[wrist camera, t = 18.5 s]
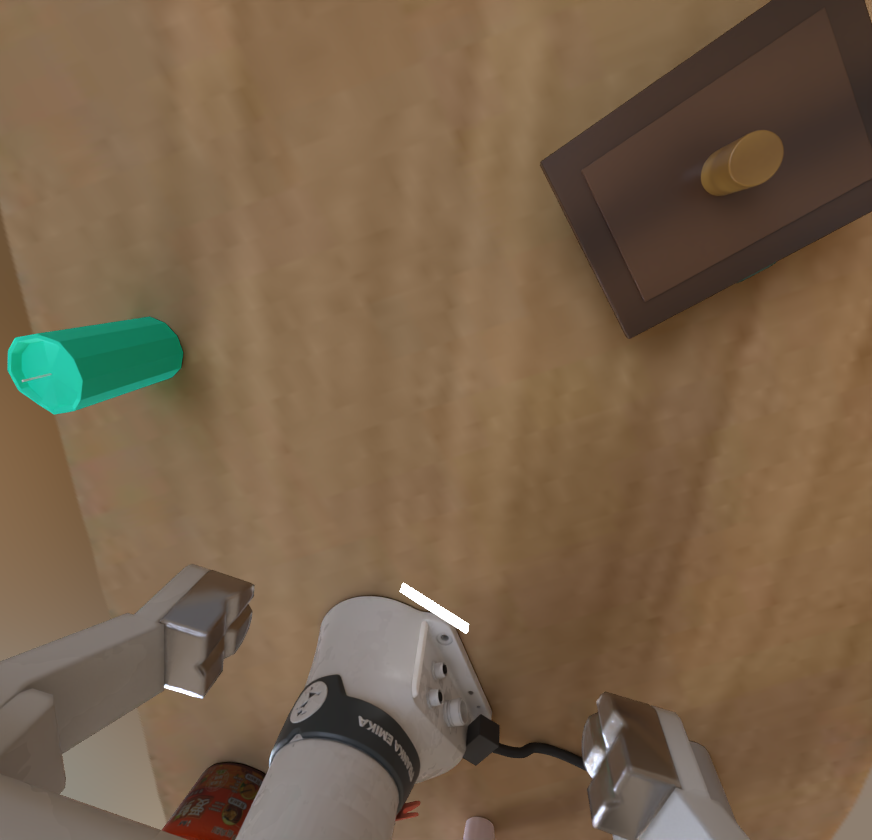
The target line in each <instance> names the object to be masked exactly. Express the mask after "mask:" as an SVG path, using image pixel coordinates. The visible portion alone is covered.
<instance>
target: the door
mask: <svg viewBox="0 0 872 840" xmlns="http://www.w3.org/2000/svg"><path fill="white" fill-rule="evenodd" d="M540 166H541V168H542V170H543V172H544V174H545V176H546V178H547V180H548V182H549V184H550V186H551V188H552V190H553V192H554V194H555V196H556V198H557V200H558V202H559V204H560V206H561V208H562V210H563V212H564V214H565V216H566V218H567V220H568V222H569V224H570V226H571V228H572V230H573V232H574V234H575V236H576V238H577V240H578V242H579V244H580V246H581V248H582V250H583V252H584V254H585V256H586V258H587V260H588V262H589V264H590V266H591V268H592V270H593V272H594V274H595V276H596V278H597V280H598V282H599V284H600V286H601V288H602V290H603V292H604V294H605V296H606V298H607V300H608V302H609V304H610V306H611V308H612V310H613V312H614V314H615V316H616V318H617V320H618V322H619V324H620V326H621V328H622V330H623V332H624V334H625V336H626V337H627V338H629V339H630V338H632V337H634V336H636V335H638V334H640V333H642V332H644V331H646V330H648V329H649V328H651V327H653V326H655V325H657V324H659V323H661V322H663V321H665V320H667V319H668V318H670V317H672V316H674V315H676V314H678V313H680V312H682V311H684V310H686V309H687V308H689V307H691V306H693V305H695V304H697V303H699V302H701V301H703V300H705V299H706V298H708V297H710V296H712V295H714V294H716V293H718V292H720V291H722V290H724V289H725V288H727V287H729V286H731V285H733V284H735V283H737V282H739V281H741V280H743V279H744V278H746V277H748V276H750V275H752V274H754V273H756V272H758V271H760V270H762V269H763V268H765V267H767V266H769V265H771V264H773V263H775V262H777V261H779V260H781V259H782V258H784V257H786V256H788V255H790V254H792V253H794V252H796V251H798V250H800V249H801V248H803V247H805V246H807V245H809V244H811V243H813V242H815V241H817V240H819V239H820V238H822V237H824V236H826V235H828V234H830V233H832V232H834V231H836V230H837V229H839V228H841V227H843V226H845V225H847V224H849V223H851V222H853V221H855V220H856V219H858V218H860V217H862V216H864V215H866V214H868V213H870V212H872V23H871V20H870V17H869V13H868V10H867V7H866V4H865V0H772V1H770V2H769V3H767V4H766V5H764V6H763V7H762V8H760V9H759V10H757V11H756V12H754V13H753V14H751V15H750V16H749V17H747V18H746V19H744V20H743V21H741V22H740V23H739V24H737V25H736V26H734V27H733V28H731V29H730V30H729V31H727V32H726V33H724V34H723V35H721V36H720V37H719V38H717V39H716V40H714V41H713V42H711V43H710V44H708V45H707V46H706V47H704V48H703V49H701V50H700V51H698V52H697V53H696V54H694V55H693V56H691V57H690V58H688V59H687V60H686V61H684V62H683V63H681V64H680V65H678V66H677V67H676V68H674V69H673V70H671V71H670V72H668V73H667V74H665V75H664V76H663V77H661V78H660V79H658V80H657V81H655V82H654V83H653V84H651V85H650V86H648V87H647V88H645V89H644V90H643V91H641V92H640V93H638V94H637V95H635V96H634V97H633V98H631V99H630V100H628V101H627V102H625V103H624V104H622V105H621V106H620V107H618V108H617V109H615V110H614V111H612V112H611V113H610V114H608V115H607V116H605V117H604V118H602V119H601V120H600V121H598V122H597V123H595V124H594V125H592V126H591V127H590V128H588V129H587V130H585V131H584V132H582V133H581V134H580V135H578V136H577V137H575V138H574V139H572V140H571V141H569V142H568V143H567V144H565V145H564V146H562V147H561V148H559V149H558V150H557V151H555V152H554V153H552V154H551V155H549V156H548V157H547V158H545V159H544V160H542V161H541V163H540Z"/></svg>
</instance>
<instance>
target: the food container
mask: <svg viewBox="0 0 872 840" xmlns="http://www.w3.org/2000/svg"><path fill="white" fill-rule="evenodd" d="M265 776H266V775H264V774H263V773H262V772H260V771H257V770H255V769H253V768H251V767H248V766H245V765H242V764H236V763H220V764H215V765H213V766H211V767H209V768H208V769H206V770H205V771H204V773H203V774H202V775H201V777H200V778H199V779H198V781H197V782H196V784H195V785H194V786H193V788H192V789H191V791H190V792H189V793H188V795H187V796H186V798H185V799H184V800H183V802H182V803H181V804H180V806H179V807H178V808H177V810H176V811H175V813H174V814H173V815H172V817H171V818H170V820H169V821H168V822H167V824H166V825H165V826H164V828H163V829H162V831H165V832H168V833H170V834H173V835H176V836H179V837H182V838H185V839H187V840H235V839H236V837H237V835H238V833H239V831H240V829H241V827H242V825H243V822H244V820H245V818H246V816H247V814H248V812H249V810H250V808H251V805H252V803H253V801H254V799H255V797H256V795H257V793H258V791H259V789H260V786H261V784H262V782H263V780H264V778H265Z"/></svg>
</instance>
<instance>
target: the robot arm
mask: <svg viewBox="0 0 872 840" xmlns="http://www.w3.org/2000/svg"><path fill="white" fill-rule="evenodd" d="M400 592H401V593H402V594H404V595H406V596H407V597H409V598H410V599H412V600H414V601H415V602H417V603H418V604H420V605H421V606H423V607H425V608H426V609H428V610H429V611H431V612H433V613H429V612H422V611H419V610H416V609H414V608H412V607H410V606H408V605H406V604H403V603H401V602H398V601H396V600H392V599H389V598H384V597H377V596H362V597H355V598H351V599H348V600H345V601H343V602H341V603H339V604H337V605H336V606H334V607H333V608H332V609H331V610H330V611H329V612H328V613H327V614H326V616H325V617H324V619H323V621H322V624H321V627H320V633H319V640H318V645H317V649H316V653H315V657H314V660H313V664H312V667H311V670H310V673H309V676H308V679H307V682H306V685H305V688H304V690H303V691H302V693H301V694H300V696H299V697H298V699H297V701H296V702H295V704H294V706H293V708H292V709H291V711H290V713H289V715H288V717H287V719H286V721H285V724H284V726H283V728H282V730H281V732H280V734H279V736H278V739H277V741H276V743H275V745H274V748H273V750H272V752H271V754H270V758H269V770H268V772H267V774H266V776H265V778H264V780H263V782H262V784H261V786H260V789H259V791H258V793H257V795H256V797H255V799H254V801H253V803H252V805H251V808H250V810H249V812H248V814H247V816H246V818H245V820H244V822H243V825H242V827H241V829H240V831H239V833H238V835H237V837H236V839H235V840H392V834H393V829H394V825H395V821H398V820H403V819H407V818H412V817H415V816H418V813H416V812H414V813H407V812H408V811H412V810H413V809H415V808H416V807H418V806H419V805H420V801H414V802H410V803H405V802H406V800H407V798H408V796H409V794H410V792H411V790H412V788H413V786H414V784H417V783H420V782H423V781H426V780H428V779H431V778H434V777H436V776H439V775H441V774H444V773H446V772H447V771H449V770H451V769H452V768H454V767H455V766H456V765H457V764H458V763H459V762H460V761H461V759H462V758H464V759H466V760H467V761H469V762H471V763H472V764H474V765H477V764H479V763H480V762H481V761H482V760H483V759H484V758H486V757H487V756H488V755H489V754H490V753H492V752H493V753H497V754H500V755H503V756H507V757H511V758H525V757H527V756H529V755H530V754H532V753H542V754H547V755H550V756H554V757H556V758H559V759H562V760H564V761H566V762H569V763H571V764H573V765H575V766H577V767H579V768H581V769H583V770H586V771H588V773H589V774H590V776H591V777H592V779H593V780H592V781H591V783H590V785H589V787H588V788H587V791H588V798H589V804H590V811H591V817H592V824H593V827H594V828H596V829H599V830H602V831H605V832H607V833H610V834H613V835H616V836H619V837H621V838H624V839H627V840H750V838H749V837H748V836H747V835H746V834H745V832H744V831H743V830H742V829H741V828H740V826H739V825H738V824H737V823H736V822H735V820H734V819H733V818H732V817H731V816H730V814H729V813H728V812H727V811H726V810H725V808H724V807H723V806H722V805H721V804H720V802H718V801H716V800H713V799H711V797H710V795H709V792H708V789H707V787H706V784H705V781H704V779H703V776H702V774H701V771H700V768H699V766H698V763H697V761H696V758H695V755H694V753H693V750H692V747H691V745H690V742H689V740H688V737H687V734H686V732H685V729H684V727H683V724H682V721H681V719H680V717H679V716H678V715H677V714H676V713H675V712H672V711H669V710H665V709H662V708H659V707H655V706H650V705H649V704H646V703H643V702H639V701H636V700H633V699H629V698H626V697H622V696H619V695H616V694H612V693H609V692H604V693H602V694H601V695H600V697H599V699H598V700H597V702H596V703H597V708H598V712H597V713H595V714H592V715H590V716H589V717H588V719H587V722H586V724H585V726H584V730H583V736H582V757H583V758H581V757H579V756H577V755H574V754H572V753H570V752H568V751H565V750H563V749H560V748H557V747H554V746H551V745H548V744H543V743H536V742H533V743H528V744H526V745H525V746H523V747H511V746H507V745H504V744H500V743H499V725H498V724H496V723H495V722H493V721H492V720H491V717H492V711H491V708H490V706H489V703H488V701H487V699H486V696H485V694H484V692H483V690H482V687H481V685H480V683H479V680H478V678H477V676H476V674H475V671H474V669H473V667H472V665H471V662H470V660H469V658H468V655H467V653H466V651H465V649H464V646H463V644H462V642H461V639H460V637H459V635H458V633H457V630H456V628H458V629H459V630H461V631H463V632H464V633H467V632H468V628H469V624H468V623H466V622H465V621H463V620H462V619H460V618H459V617H457V616H455V615H454V614H452V613H451V612H449V611H447V610H446V609H444V608H443V607H441V606H440V605H438V604H436V603H435V602H433V601H432V600H430V599H429V598H427V597H425V596H424V595H422V594H421V593H419V592H417V591H416V590H414V589H413V588H411V587H410V586H408V585H406V584H405V583H403V584H402V586H401V589H400ZM253 597H254V585H253V584H252V583H249V582H246V581H244V580H241V579H238V578H235V577H232V576H229V575H226V574H223V573H220V572H217V571H214V570H210V569H207V568H204V567H201V566H198V565H195V564H191V565H189V566H186V567H185V568H183V569H182V570H181V571H180V572H179V573H178V574H177V575H176V576H175V577H174V578H173V579H172V580H171V581H169V582H168V583H167V584H166V585H165V586H164V587H163V588H162V589H161V590H160V591H159V592H158V593H157V594H156V595H155V596H153V597H152V598H151V599H150V600H149V601H148V602H147V603H146V604H145V605H144V606H143V607H142V608H141V609H140V610H138V611H137V612H136V613H135V614H134V615H133V614H130V613H126V614H123V615H121V616H118V617H116V618H113V619H110V620H108V621H105V622H103V623H100V624H97V625H94V626H92V627H90V628H87V629H84V630H81V631H79V632H76V633H73V634H71V635H68V636H66V637H63V638H60V639H58V640H55V641H52V642H50V643H48V644H45V645H42V646H39V647H37V648H34V649H31V650H29V651H26V652H24V653H21V654H18V655H16V656H13V657H10V658H8V659H5V660H2V661H0V840H187V839H185V838H182V837H179V836H176V835H173V834H170V833H168V832H165V831H162V830H159V829H156V828H153V827H151V826H148V825H145V824H142V823H139V822H136V821H133V820H131V819H128V818H125V817H122V816H119V815H117V814H114V813H111V812H108V811H105V810H102V809H99V808H96V807H94V806H91V805H88V804H85V803H83V802H80V801H77V800H74V799H71V798H68V797H66V796H63V795H60V793H61V792H62V791H63V790H64V788H65V782H66V777H65V770H64V764H63V757H62V754H63V753H64V752H66V751H68V750H69V749H71V748H72V747H74V746H76V745H77V744H79V743H80V742H82V741H84V740H85V739H87V738H88V737H90V736H92V735H93V734H95V733H96V732H98V731H100V730H101V729H103V728H105V727H106V726H108V725H109V724H111V723H113V722H114V721H116V720H117V719H119V718H121V717H122V716H124V715H125V714H127V713H128V712H130V711H132V710H133V709H135V708H137V707H138V706H140V705H141V704H143V703H145V702H146V701H148V700H149V699H151V698H153V697H154V696H156V695H157V694H159V693H161V692H162V691H164V688H168V689H171V690H175V691H178V692H181V693H185V694H188V695H192V696H195V697H199V698H202V699H203V698H204V696H205V695H206V694H207V692H208V691H209V689H210V688H211V687H212V685H213V684H214V682H215V681H216V679H217V678H218V677H219V675H220V674H221V672H222V671H223V659H225V658H227V657H229V656H231V655H233V654H235V652H236V651H237V649H238V648H239V647H240V645H241V644H242V642H243V640H244V638H245V636H246V634H247V632H248V629H249V626H250V623H251V619H252V609H251V608H250V606H249V604H248V603H249V602H250V601H251V599H252V598H253ZM455 627H456V628H455ZM445 635H447V636H445ZM404 803H405V804H404Z"/></svg>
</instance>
